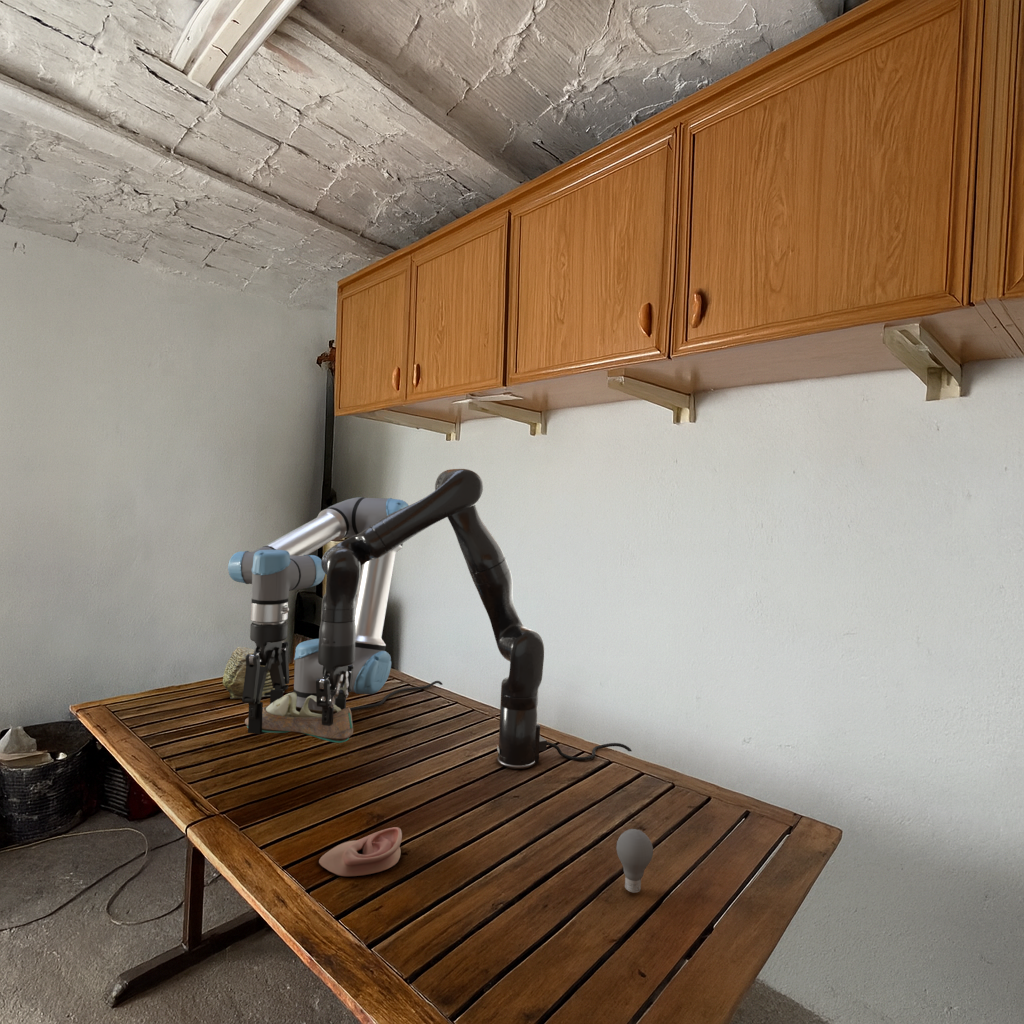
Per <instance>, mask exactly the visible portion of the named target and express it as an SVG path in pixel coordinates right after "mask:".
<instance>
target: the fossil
mask: <svg viewBox="0 0 1024 1024" xmlns="http://www.w3.org/2000/svg"><path fill="white" fill-rule="evenodd" d="M254 650H255V648H251V647H247V646H246V647H245V646H238V647H237V648H236V649H235V650H233V651H232V653H231V656H230V657H229V659H228V660H227V663H226V666H225V668H224V671H223V675H222V676H223V677H222V685H223V687H224V688H225V690H226V691H228V693H229V698H230V699H242V696H243V688H244V680H245V672H246V655H247V654H251V655H252V654H253V653H254ZM284 678H285V677H284ZM272 689H275V688H273V686H272V681H271V677H270V672H269V671H268V672H267V675H266V680H265V684H264V688H263V692H262V697H261V698H264V697H270V690H272ZM285 691H286V690H285V689H283V693H285Z"/></svg>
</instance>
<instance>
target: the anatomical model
mask: <svg viewBox="0 0 1024 1024" xmlns="http://www.w3.org/2000/svg"><path fill="white" fill-rule="evenodd" d="M402 840H403V831H402V829H401V828H400V827H399V826H394V827H389V828H384V829H381V830H379V831H376V832H373V833H371V834H369V835H366V836H364V837H362V838H360V839H357V840H356V839H355V840H349V841H344V842H342V843H340V844H338V845H336V846H334V847H333V848H331V849H330V850H328V851H327V852H325V853H324V854H322V856H321V857H320V858H319V860H318V864H319V865H320V866H321V867H322V868H324V869H325V870H327V871H328V872H330V873H332V874H334V875H336V876H339V877H357V876H358V877H359V876H366V875H371V874H376V873H380V872H383V871H386V870H388V869H390V868H392V867H394V866H396V864H397V863H398V862H399V860H400V858H401V851H402V850H401V847H400V846H401V843H402Z"/></svg>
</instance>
